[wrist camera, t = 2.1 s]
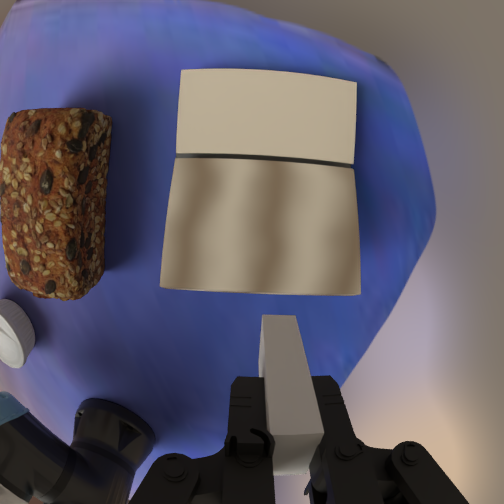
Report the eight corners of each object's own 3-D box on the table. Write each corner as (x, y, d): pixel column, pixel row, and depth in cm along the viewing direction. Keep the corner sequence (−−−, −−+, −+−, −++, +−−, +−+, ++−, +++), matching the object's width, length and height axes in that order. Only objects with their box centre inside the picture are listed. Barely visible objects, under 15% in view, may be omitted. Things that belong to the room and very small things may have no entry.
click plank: (166, 288, 24) (159, 286, 22) (179, 168, 26) (175, 158, 24) (351, 295, 24) (360, 294, 22) (346, 178, 26) (353, 168, 24)
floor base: (179, 267, 31) (172, 278, 28) (183, 78, 24) (176, 70, 21) (334, 273, 31) (342, 285, 28) (350, 90, 25) (361, 83, 22)
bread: (50, 116, 25) (-6, 111, 15) (123, 115, 25) (72, 101, 16) (44, 261, 30) (-3, 293, 21) (110, 278, 31) (68, 320, 22)
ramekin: (24, 291, 32) (3, 307, 27) (50, 353, 35) (35, 373, 30) (-12, 292, 32) (-30, 306, 27) (12, 348, 36) (-3, 364, 31)
